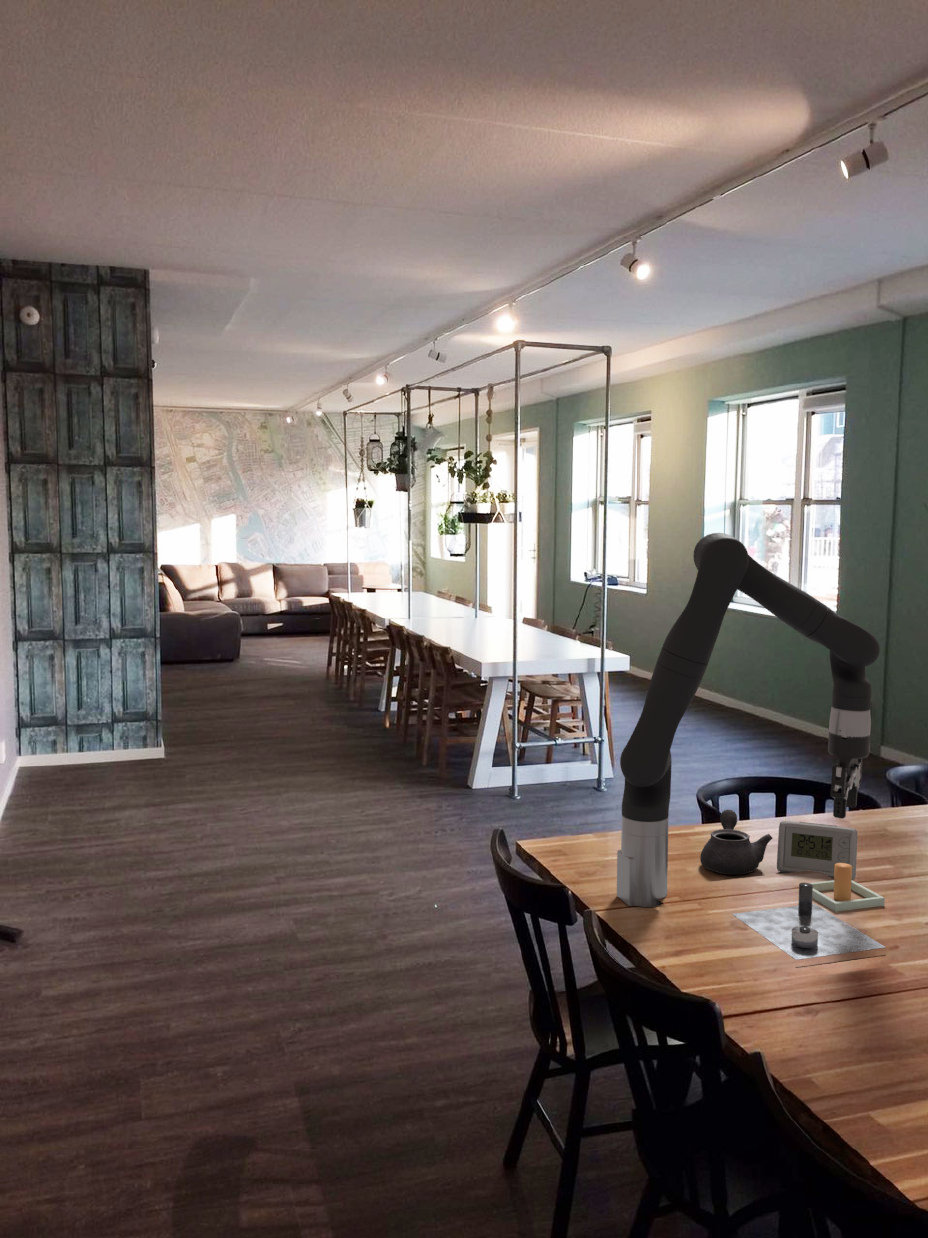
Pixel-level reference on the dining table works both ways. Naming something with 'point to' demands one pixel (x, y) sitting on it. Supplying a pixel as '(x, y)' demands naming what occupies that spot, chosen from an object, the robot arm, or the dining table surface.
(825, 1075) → the dining table surface
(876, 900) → the tray
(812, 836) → the digital clock
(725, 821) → the teapot
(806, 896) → the crank
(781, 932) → the crank base
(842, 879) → the pin
